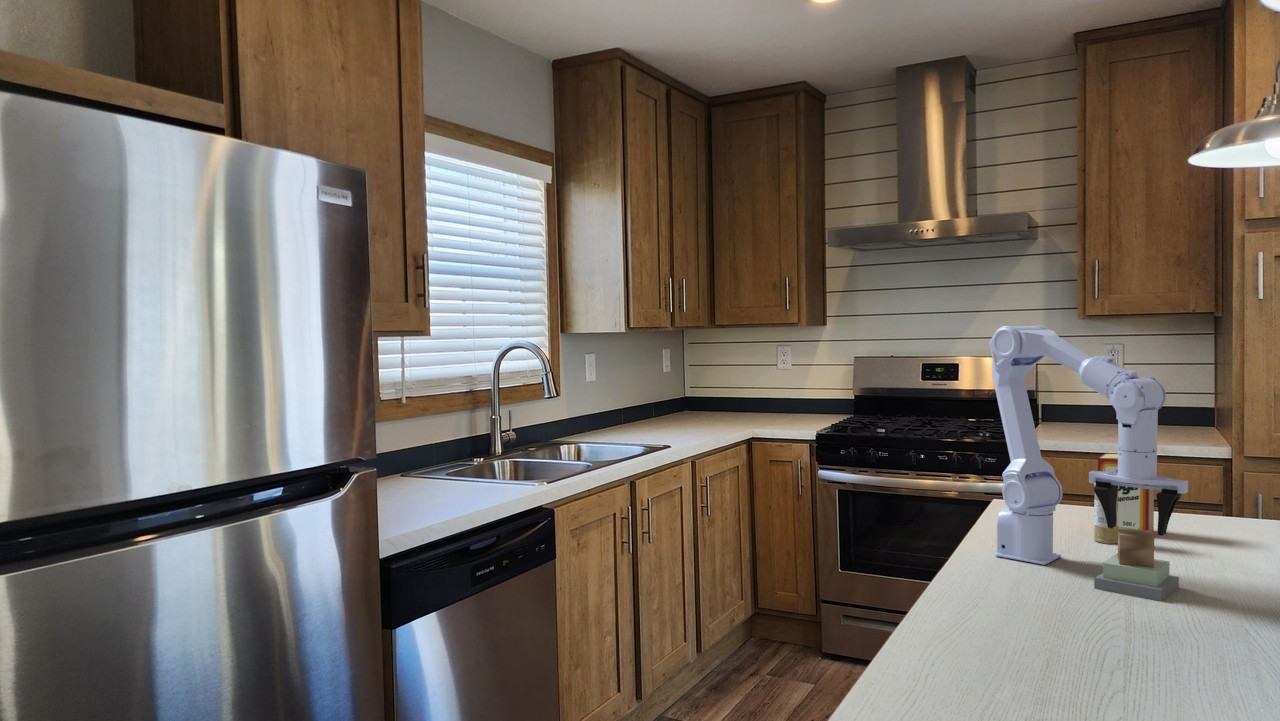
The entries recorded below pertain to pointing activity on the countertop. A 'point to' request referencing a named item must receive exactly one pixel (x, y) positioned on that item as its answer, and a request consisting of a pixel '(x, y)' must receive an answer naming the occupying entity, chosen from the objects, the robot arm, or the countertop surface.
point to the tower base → (1138, 587)
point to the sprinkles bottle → (1104, 524)
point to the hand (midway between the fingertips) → (1136, 530)
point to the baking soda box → (1130, 500)
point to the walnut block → (1135, 547)
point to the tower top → (1136, 572)
